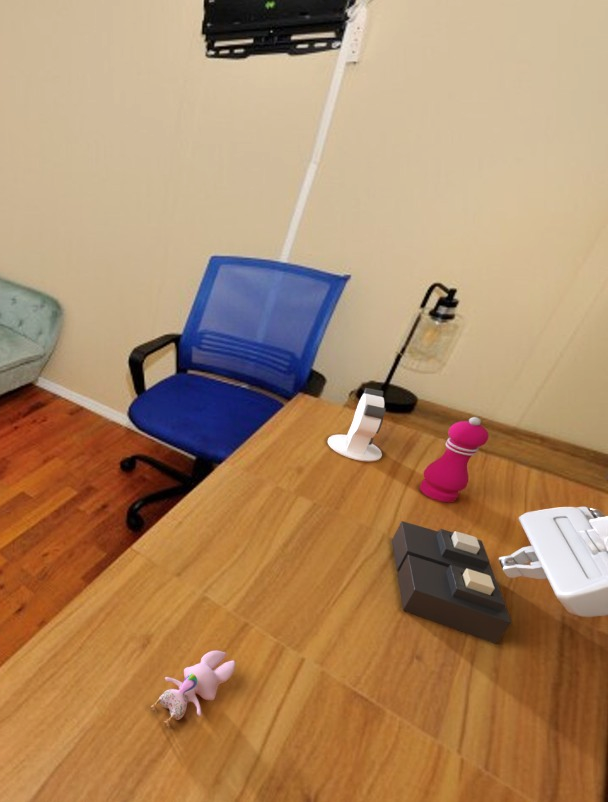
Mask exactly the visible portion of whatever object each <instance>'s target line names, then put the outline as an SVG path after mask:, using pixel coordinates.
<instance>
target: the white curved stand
mask: <svg viewBox="0 0 608 802" xmlns="http://www.w3.org/2000/svg"><path fill="white" fill-rule="evenodd" d="M383 396H384V391H383V390H379V389H374V388H368V387H365V388H364V391H363V393H362V395H361V397H360V399H359V401H358V404H357V407H356V409H355V412H354V416H353V420H352V422H351V425H350V427H349V429H348V432H347V434H332V435H330V436H329V437H328V439H327V444H328V446H329V447H330V449H331V450H333V451H334V452H336V453H338V454H339V455H341V456H343V457H345V458H347V459H348V458H349V459H352V460H355V461H359V462H369V463H370V462H376V461H379V460H380V459H382V456H383V453H382V450H381V449H380V448H379V447H378V446H376V444H374V443H373V441H374V437H375V436H376V434H379V432H380V430H381V428H382V425H383V422H384V417H385V414H386V410H387V407H385V398H384V397H383Z"/></svg>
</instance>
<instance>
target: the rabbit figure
mask: <svg viewBox="0 0 608 802" xmlns="http://www.w3.org/2000/svg"><path fill="white" fill-rule="evenodd" d="M225 657H227V652H225V651H222V650H211V651H208V652H207V653H205V654H204V655H203V656H202V657H201V659H200V662H199V663H197V664H194V665H191V666H187V667H185V668H184V669H183V677H184V680H183V681H180V680H178V679H176V678H173V677H169V676H165V677H164V680H165V682H170V683H173V684H174V685H176V686H177V687H178V689H176V688H170V689H167V690H165V691H163V693H162V694H161V695H159V698H158V699H157V700H156V702H154V703H153V704H152V705H151V706H150V708H152V711H155V712H157V705H158V704H160V705H161V707H162V708H164V709H167V710H169V715H170V717H169V718H167V719H166V720H164V721H163V723H165V725H166V727H168V728H171V727H170V722H171V720H172V719H173V720H175V721H179V720H181V719H182V718H183V717H184V715H185V714H186V711H187V706H188V703H193V704H194V706H195V708H196V715H197V716H199V717H201V716H202V708H201V704H200V701H199V699H198V698H197V697H198V696H200V697H201V698H202V699H203V700H206V701H214V700H215V699H216V695H217V691H218V687H219V686H220V684H223V683H225V682H227V681H228V680H229V679H231V677H232V675H233V673H234V672H235V669H236V661H235V660H229V661H226V662H223V663H222V664H220V663H221V662H222V661H223V660H224V659H225ZM218 665H219V666H218ZM217 666H218V667H217ZM196 694H197V695H198V696H197V695H196Z"/></svg>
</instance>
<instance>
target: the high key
mask: <svg viewBox="0 0 608 802" xmlns="http://www.w3.org/2000/svg"><path fill="white" fill-rule="evenodd" d="M462 577H463V580H464V584H465V587H467V588H470V589H473V590H476V591H479V592H482V593H485V594H488V595H491V593H492V592H493V590H494V589H495V588H494V585H493V582H492V579H491V577H490V576H489V575H486V574H483V573H480V572H477V571H473V570H470V569H467V568H466V570H465V572H464V573H463V575H462Z"/></svg>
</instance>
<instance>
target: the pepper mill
mask: <svg viewBox="0 0 608 802" xmlns="http://www.w3.org/2000/svg"><path fill="white" fill-rule="evenodd" d="M481 423H482V420H481V418H480V417H477V416H472V417H470V418H469V419H468V421H467V420H462V421H457V422H455V423H453V424H452V425H451V426H450V427H449V429H448V431H447V433H448V436H449V437H448V438H447V440H446V442H445V446H446V448H445V450H444V453H443V454H442V455H440V457H439V458H437V459H436V460H434V461H432V462H430V464H428V465H427V466H426V468H425V469H424V470H423V473H422V475H423V477H424V479H422V480H421V482H420V485H419V490H420V492H421V493H422V494H423V495H425V496H427V497H428V498H431V499H432V500H435V501H438V502H442V503H453V502H455V501H456V500H457V498H458V497H459V492H461V491H463V490H465V489H466V487H467V486H468V483H469V472H468V464H469V461H470V459H471V458H472V456H475V455H477V454H478V451H479V449H480V448H479V447H482V446H484V445H485V444H487V442H488V441H489V432H488V430H487V429H486V428H485V427H484V426H482V425H481Z"/></svg>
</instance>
